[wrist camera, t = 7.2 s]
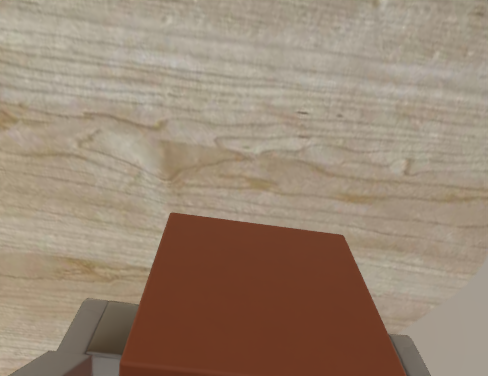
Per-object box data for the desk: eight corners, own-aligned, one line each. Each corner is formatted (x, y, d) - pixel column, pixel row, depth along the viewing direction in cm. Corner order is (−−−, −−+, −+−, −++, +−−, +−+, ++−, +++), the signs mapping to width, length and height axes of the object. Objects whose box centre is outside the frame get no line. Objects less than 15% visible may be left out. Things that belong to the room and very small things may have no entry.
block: (344, 234, 11) (417, 394, 6) (307, 363, 12) (344, 561, 8) (169, 210, 10) (118, 362, 6) (157, 347, 12) (109, 542, 8)
